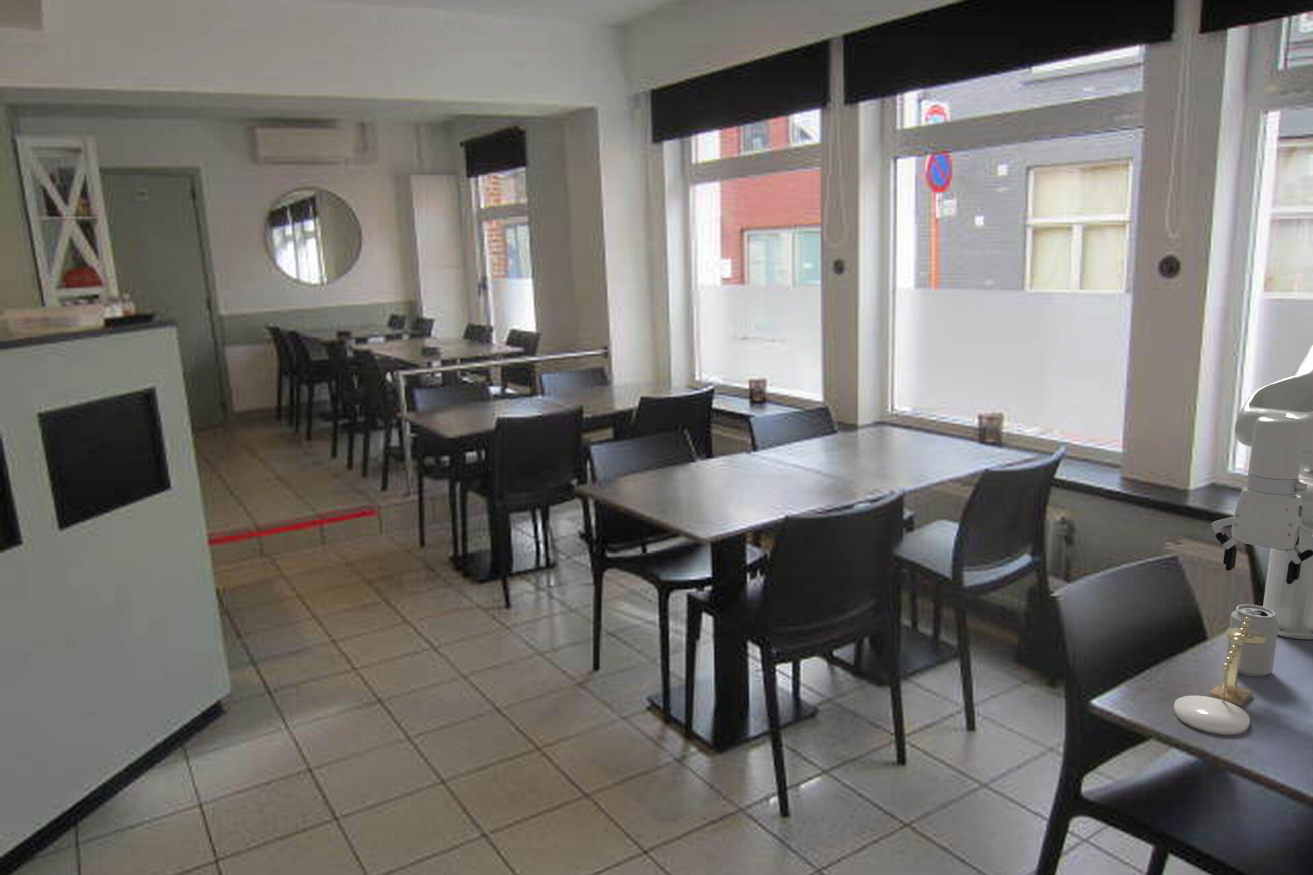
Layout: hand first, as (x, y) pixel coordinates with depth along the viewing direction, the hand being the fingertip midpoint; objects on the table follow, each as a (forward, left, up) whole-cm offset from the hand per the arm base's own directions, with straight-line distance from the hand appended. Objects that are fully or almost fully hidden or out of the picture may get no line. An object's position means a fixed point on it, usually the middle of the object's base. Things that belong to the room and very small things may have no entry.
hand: (1259, 575), depth 169 cm
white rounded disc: (+24, +1, -19) cm, 31 cm away
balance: (+12, +1, -19) cm, 22 cm away
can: (0, 0, -19) cm, 19 cm away
